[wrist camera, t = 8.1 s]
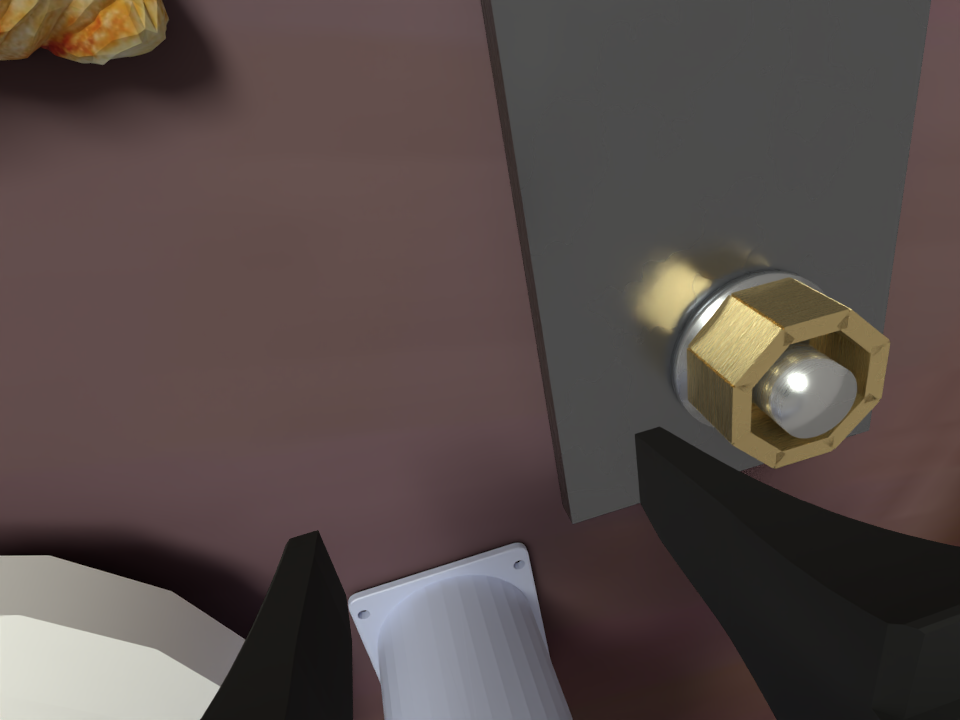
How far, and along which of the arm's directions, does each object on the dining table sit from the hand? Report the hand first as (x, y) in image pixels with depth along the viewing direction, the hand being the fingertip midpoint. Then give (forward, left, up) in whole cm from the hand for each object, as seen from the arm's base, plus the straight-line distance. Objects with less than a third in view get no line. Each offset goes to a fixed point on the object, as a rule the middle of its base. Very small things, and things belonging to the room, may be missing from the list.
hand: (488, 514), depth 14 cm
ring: (-4, -12, -8) cm, 15 cm away
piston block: (0, -11, -10) cm, 15 cm away
